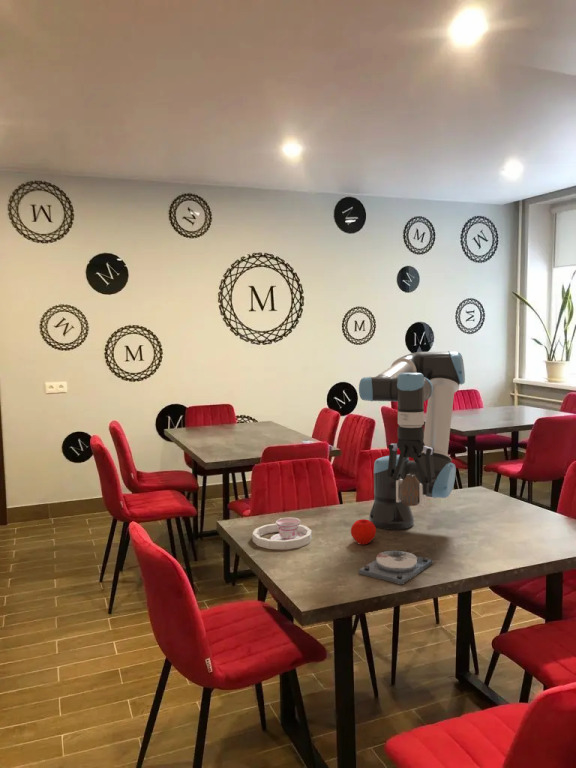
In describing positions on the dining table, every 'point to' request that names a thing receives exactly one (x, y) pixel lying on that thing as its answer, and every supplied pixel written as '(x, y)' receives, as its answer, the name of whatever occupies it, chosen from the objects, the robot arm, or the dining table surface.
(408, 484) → the vase
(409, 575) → the duct flange
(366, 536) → the apple
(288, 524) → the teacup
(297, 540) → the saucer ring
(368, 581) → the dining table surface
